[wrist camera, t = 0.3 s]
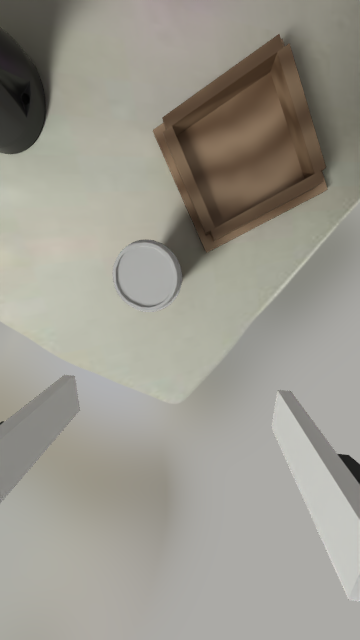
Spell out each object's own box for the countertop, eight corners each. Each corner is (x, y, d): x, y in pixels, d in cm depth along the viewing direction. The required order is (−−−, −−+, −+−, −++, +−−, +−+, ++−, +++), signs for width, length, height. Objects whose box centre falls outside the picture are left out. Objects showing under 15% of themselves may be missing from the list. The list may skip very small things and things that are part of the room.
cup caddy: (154, 135, 30) (148, 117, 27) (278, 48, 26) (290, 13, 23) (206, 252, 34) (206, 250, 30) (322, 192, 30) (339, 181, 26)
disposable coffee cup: (189, 249, 34) (182, 239, 23) (186, 301, 37) (179, 316, 25) (138, 247, 35) (107, 236, 24) (138, 298, 38) (110, 311, 26)
